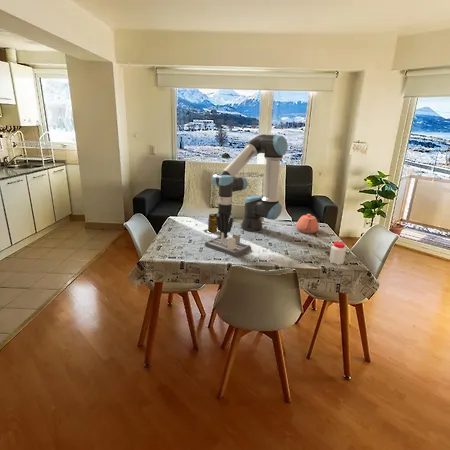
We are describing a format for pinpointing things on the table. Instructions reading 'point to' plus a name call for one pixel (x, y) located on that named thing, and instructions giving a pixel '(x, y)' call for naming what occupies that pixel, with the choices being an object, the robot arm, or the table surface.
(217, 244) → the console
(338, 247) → the pill bottle
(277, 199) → the robot arm
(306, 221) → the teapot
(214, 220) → the condiment
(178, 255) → the table surface
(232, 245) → the block
